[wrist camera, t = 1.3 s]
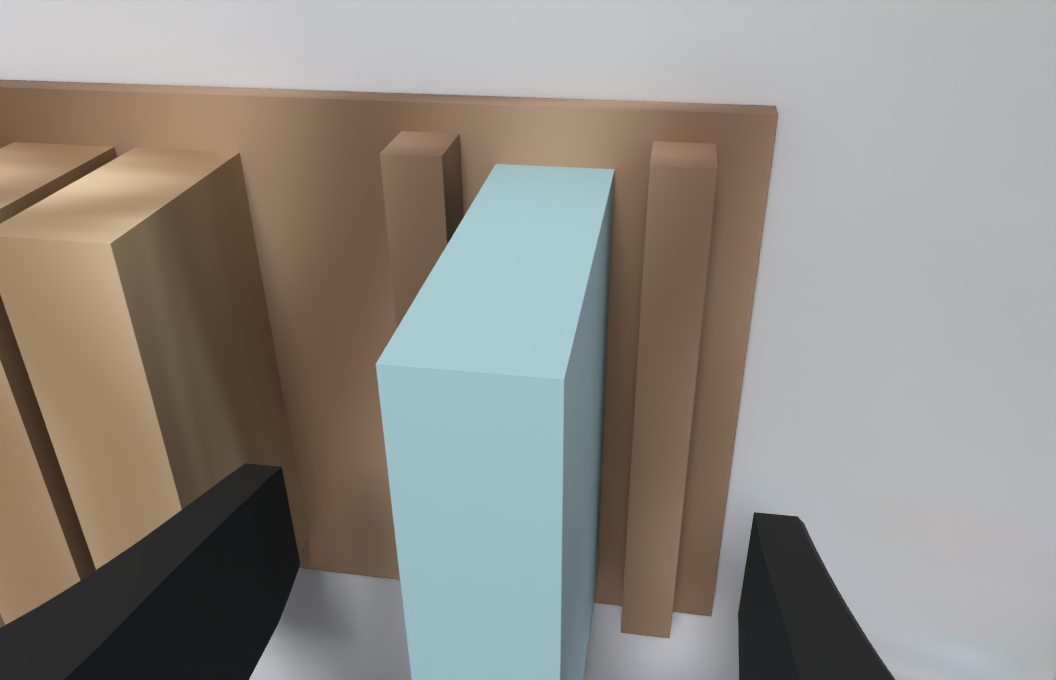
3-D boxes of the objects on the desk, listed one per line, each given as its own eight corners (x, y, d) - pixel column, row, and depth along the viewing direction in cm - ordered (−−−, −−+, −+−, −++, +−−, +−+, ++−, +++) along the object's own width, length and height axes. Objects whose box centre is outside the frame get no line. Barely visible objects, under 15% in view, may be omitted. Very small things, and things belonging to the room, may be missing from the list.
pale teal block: (614, 168, 15) (564, 379, 9) (597, 569, 19) (558, 874, 13) (495, 163, 15) (376, 363, 9) (507, 559, 19) (431, 853, 14)
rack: (775, 105, 14) (784, 137, 13) (710, 598, 20) (711, 660, 18) (-81, 77, 16) (-157, 100, 15) (76, 526, 22) (32, 576, 20)
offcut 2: (239, 152, 15) (110, 243, 12) (308, 537, 20) (228, 683, 17) (135, 147, 16) (-21, 235, 12) (225, 528, 20) (130, 669, 17)
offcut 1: (114, 146, 16) (-46, 233, 12) (209, 526, 20) (111, 666, 17) (14, 142, 16) (-170, 225, 13) (130, 517, 21) (17, 653, 17)
